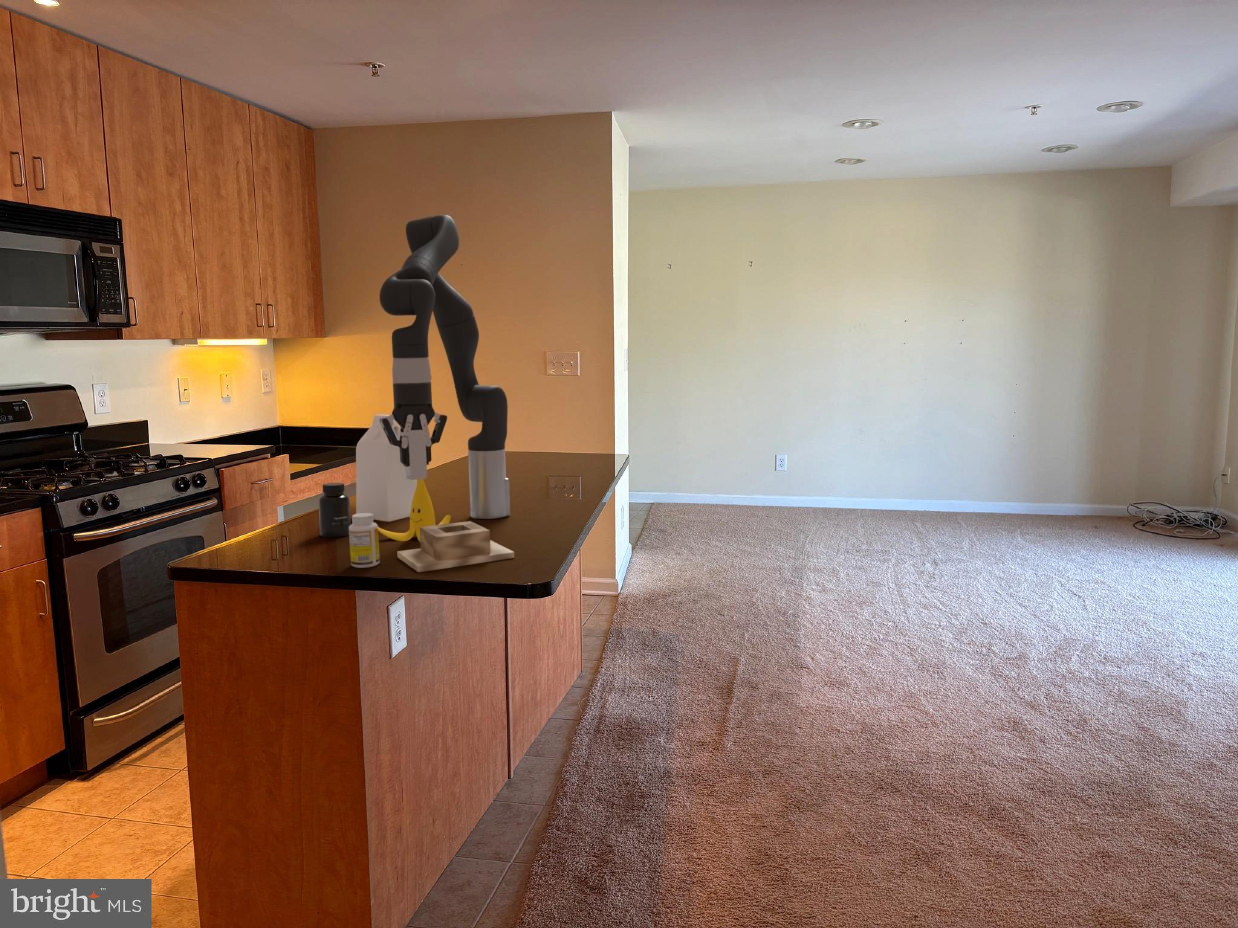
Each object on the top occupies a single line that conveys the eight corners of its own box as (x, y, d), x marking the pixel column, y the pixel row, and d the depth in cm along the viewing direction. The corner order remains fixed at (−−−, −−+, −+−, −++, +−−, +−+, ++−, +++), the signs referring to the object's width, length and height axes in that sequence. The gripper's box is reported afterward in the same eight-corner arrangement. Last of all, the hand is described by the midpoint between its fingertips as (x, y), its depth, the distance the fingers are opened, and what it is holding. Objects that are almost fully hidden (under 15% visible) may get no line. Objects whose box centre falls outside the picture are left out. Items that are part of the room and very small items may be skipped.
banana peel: (444, 547, 180) (441, 471, 178) (372, 541, 187) (368, 467, 185) (483, 531, 195) (481, 461, 193) (415, 526, 202) (412, 458, 200)
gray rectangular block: (422, 476, 172) (420, 428, 171) (427, 478, 169) (424, 429, 168) (406, 477, 170) (403, 429, 169) (410, 479, 167) (408, 430, 166)
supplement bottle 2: (369, 559, 169) (366, 510, 168) (385, 564, 166) (382, 514, 164) (345, 565, 165) (342, 515, 164) (361, 570, 162) (358, 518, 160)
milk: (422, 513, 217) (417, 414, 213) (388, 521, 207) (383, 417, 204) (390, 509, 223) (385, 412, 220) (356, 516, 214) (350, 416, 210)
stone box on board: (488, 544, 182) (487, 517, 181) (514, 557, 170) (513, 528, 169) (397, 557, 171) (396, 528, 171) (418, 572, 159) (417, 541, 159)
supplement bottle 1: (341, 538, 189) (338, 486, 187) (314, 537, 190) (311, 486, 189) (356, 532, 196) (354, 481, 194) (330, 531, 197) (327, 481, 195)
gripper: (440, 379, 174) (444, 460, 176) (371, 381, 167) (376, 466, 169) (451, 380, 167) (455, 464, 170) (381, 382, 160) (385, 470, 163)
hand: (416, 464), depth 169 cm, fingers closed on gray rectangular block, 3 cm apart
